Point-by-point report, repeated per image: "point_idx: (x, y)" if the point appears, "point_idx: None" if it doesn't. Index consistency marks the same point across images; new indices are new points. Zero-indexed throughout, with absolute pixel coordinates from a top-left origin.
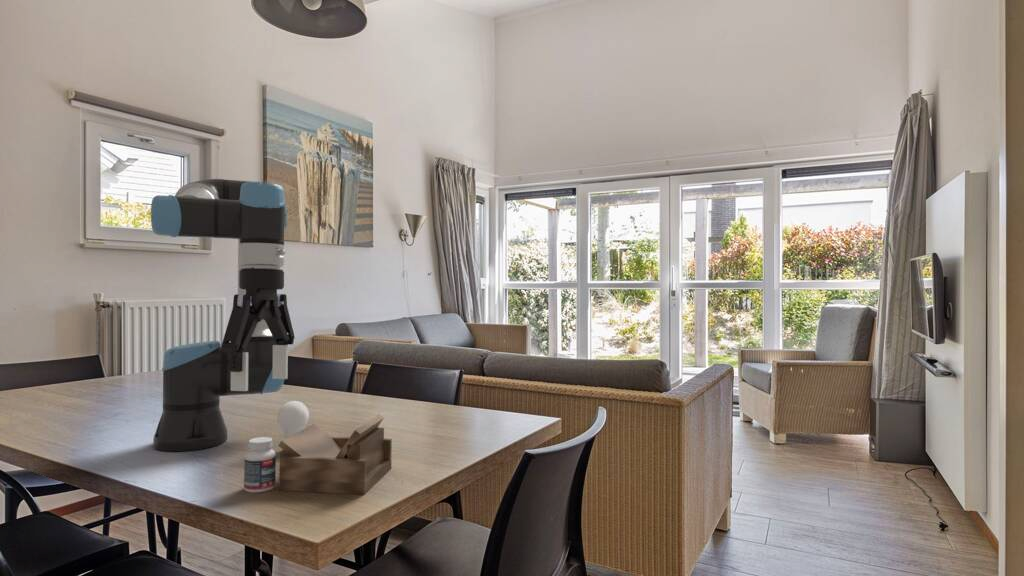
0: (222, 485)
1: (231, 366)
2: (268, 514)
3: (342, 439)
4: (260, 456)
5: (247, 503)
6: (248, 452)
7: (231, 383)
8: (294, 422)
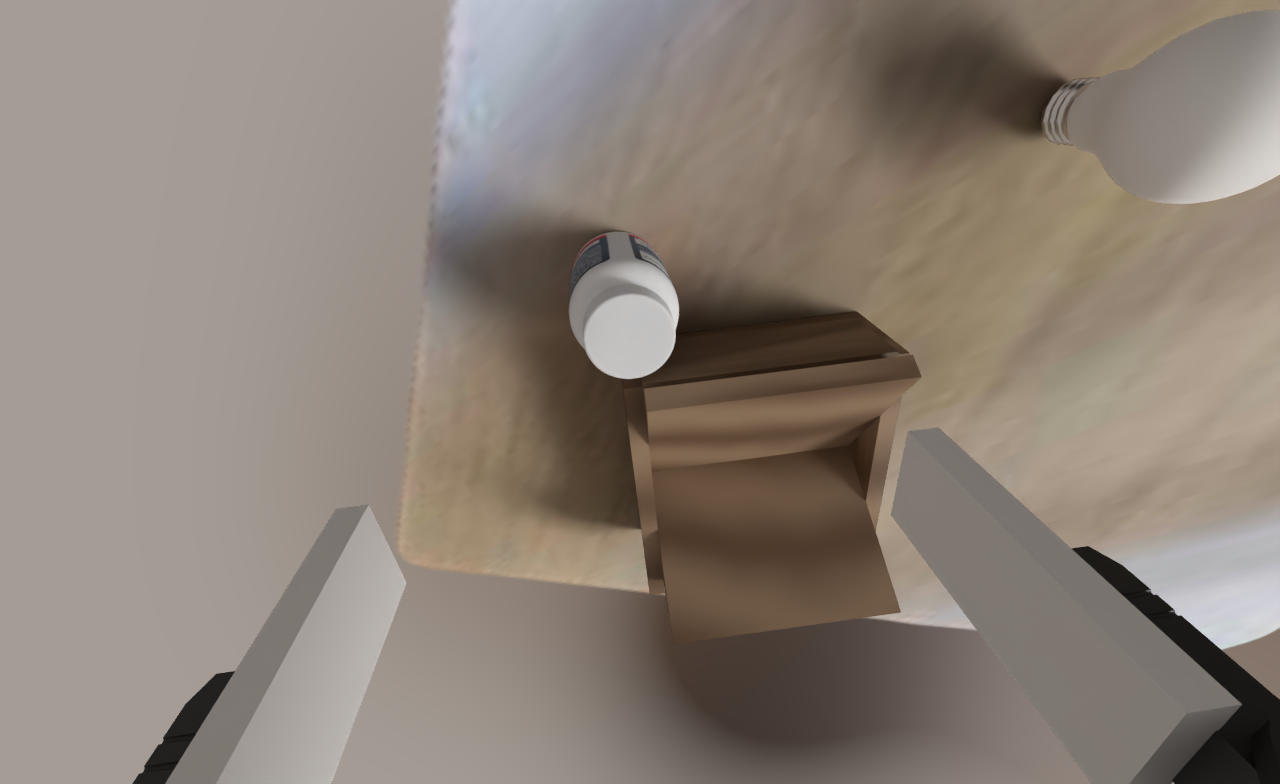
0: (609, 127)
1: (174, 735)
2: (462, 415)
3: (872, 445)
4: (584, 348)
5: (501, 322)
6: (598, 287)
7: (313, 554)
8: (1110, 167)
